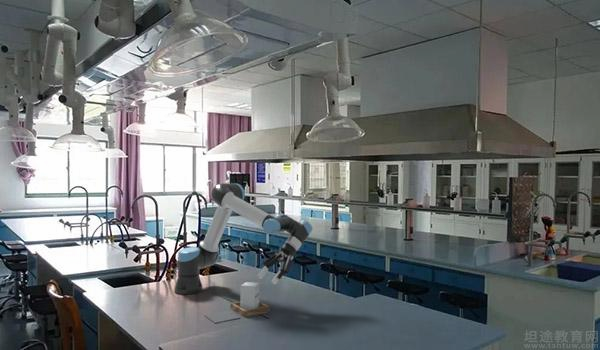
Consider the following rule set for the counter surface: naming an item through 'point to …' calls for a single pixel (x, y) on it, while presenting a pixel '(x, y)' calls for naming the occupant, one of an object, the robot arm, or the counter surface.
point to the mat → (221, 316)
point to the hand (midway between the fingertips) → (265, 280)
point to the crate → (247, 313)
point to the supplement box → (249, 296)
